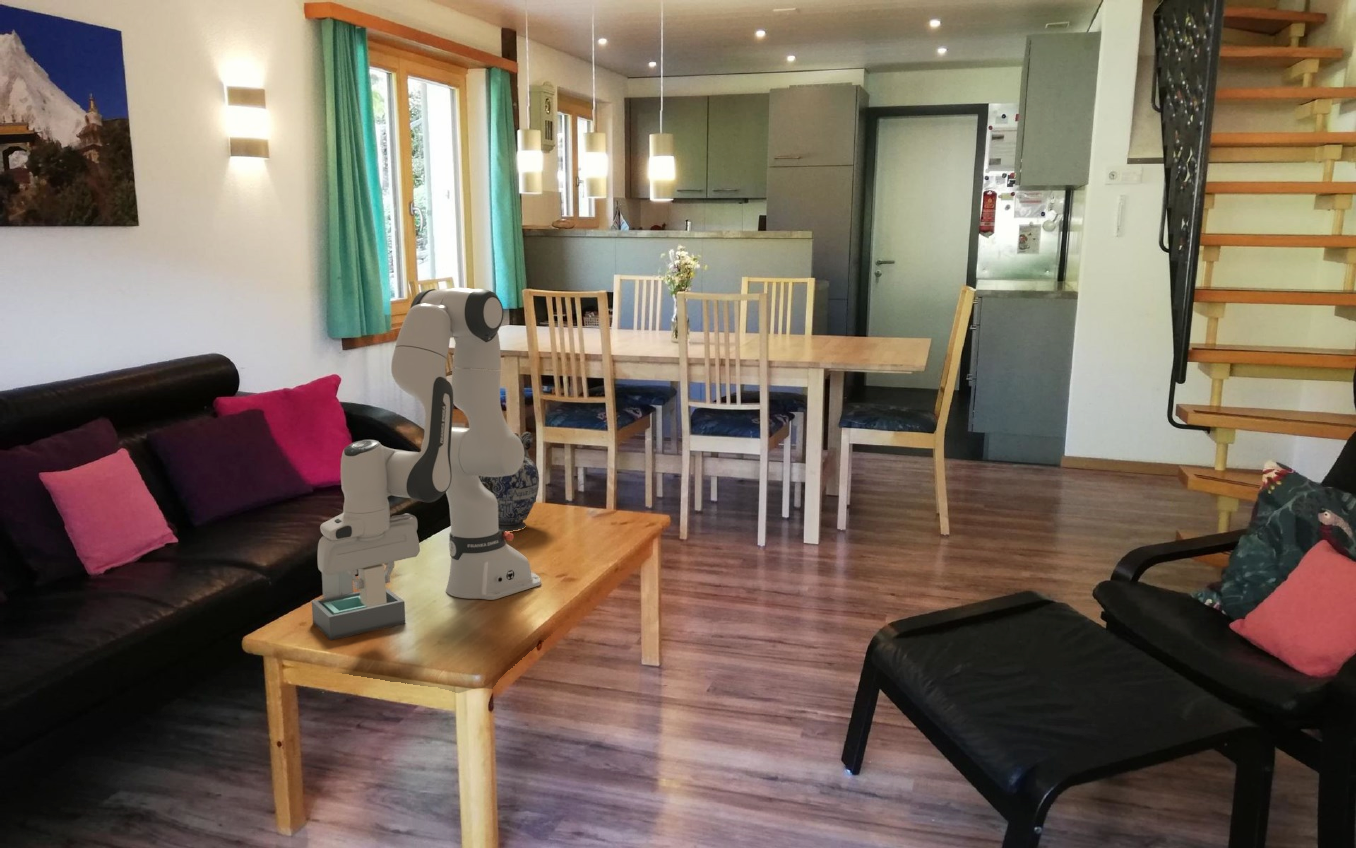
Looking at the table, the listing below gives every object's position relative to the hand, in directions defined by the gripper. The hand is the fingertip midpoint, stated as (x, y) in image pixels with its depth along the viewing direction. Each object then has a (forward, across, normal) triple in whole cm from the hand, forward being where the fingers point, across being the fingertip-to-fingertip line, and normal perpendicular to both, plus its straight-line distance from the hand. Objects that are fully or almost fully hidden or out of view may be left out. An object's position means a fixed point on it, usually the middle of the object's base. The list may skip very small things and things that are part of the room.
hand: (372, 585), depth 196 cm
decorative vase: (+15, -61, -59) cm, 86 cm away
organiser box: (+12, 0, -10) cm, 16 cm away
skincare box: (+12, +1, -20) cm, 24 cm away
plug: (+4, 0, 0) cm, 4 cm away
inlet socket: (+12, +2, -10) cm, 16 cm away
